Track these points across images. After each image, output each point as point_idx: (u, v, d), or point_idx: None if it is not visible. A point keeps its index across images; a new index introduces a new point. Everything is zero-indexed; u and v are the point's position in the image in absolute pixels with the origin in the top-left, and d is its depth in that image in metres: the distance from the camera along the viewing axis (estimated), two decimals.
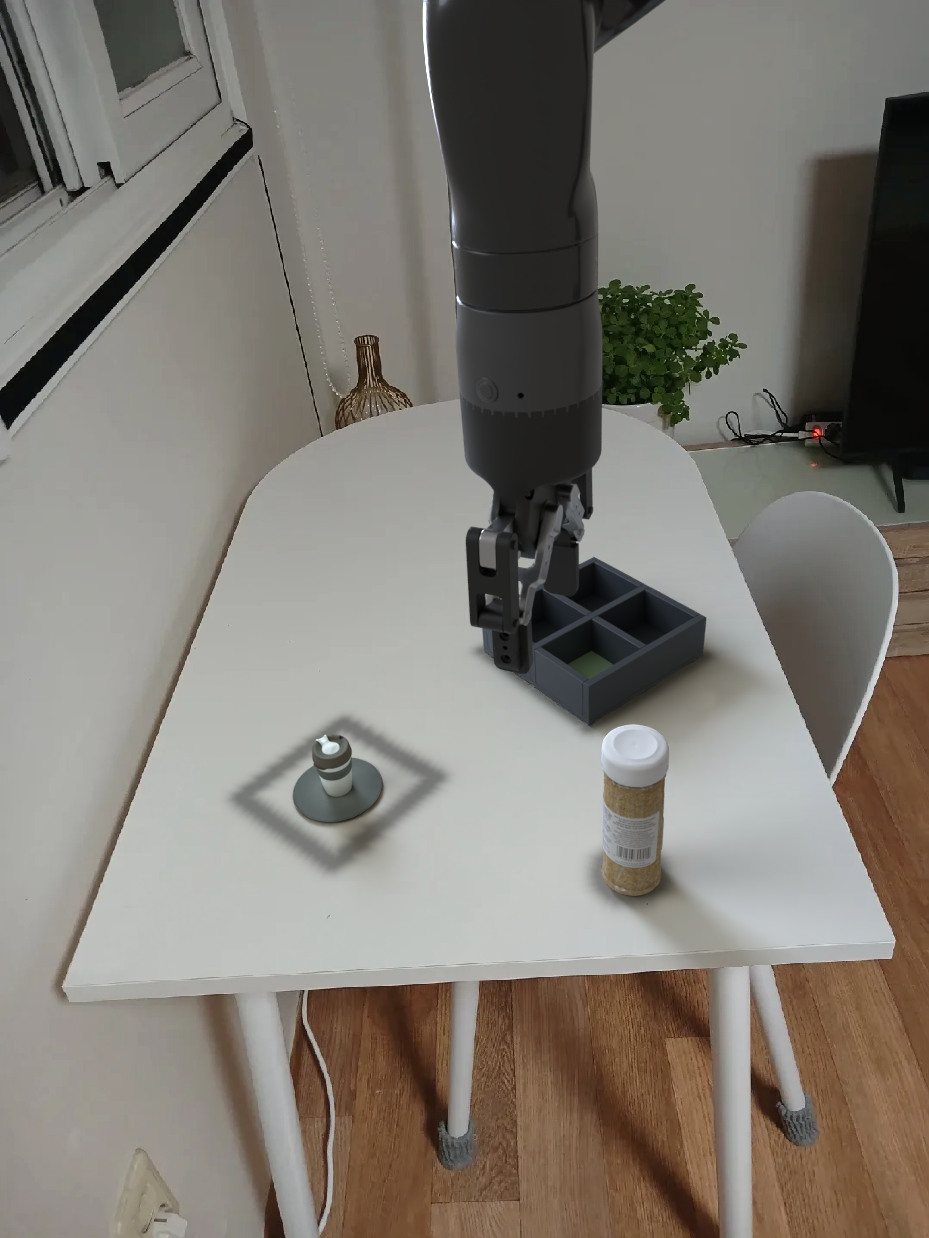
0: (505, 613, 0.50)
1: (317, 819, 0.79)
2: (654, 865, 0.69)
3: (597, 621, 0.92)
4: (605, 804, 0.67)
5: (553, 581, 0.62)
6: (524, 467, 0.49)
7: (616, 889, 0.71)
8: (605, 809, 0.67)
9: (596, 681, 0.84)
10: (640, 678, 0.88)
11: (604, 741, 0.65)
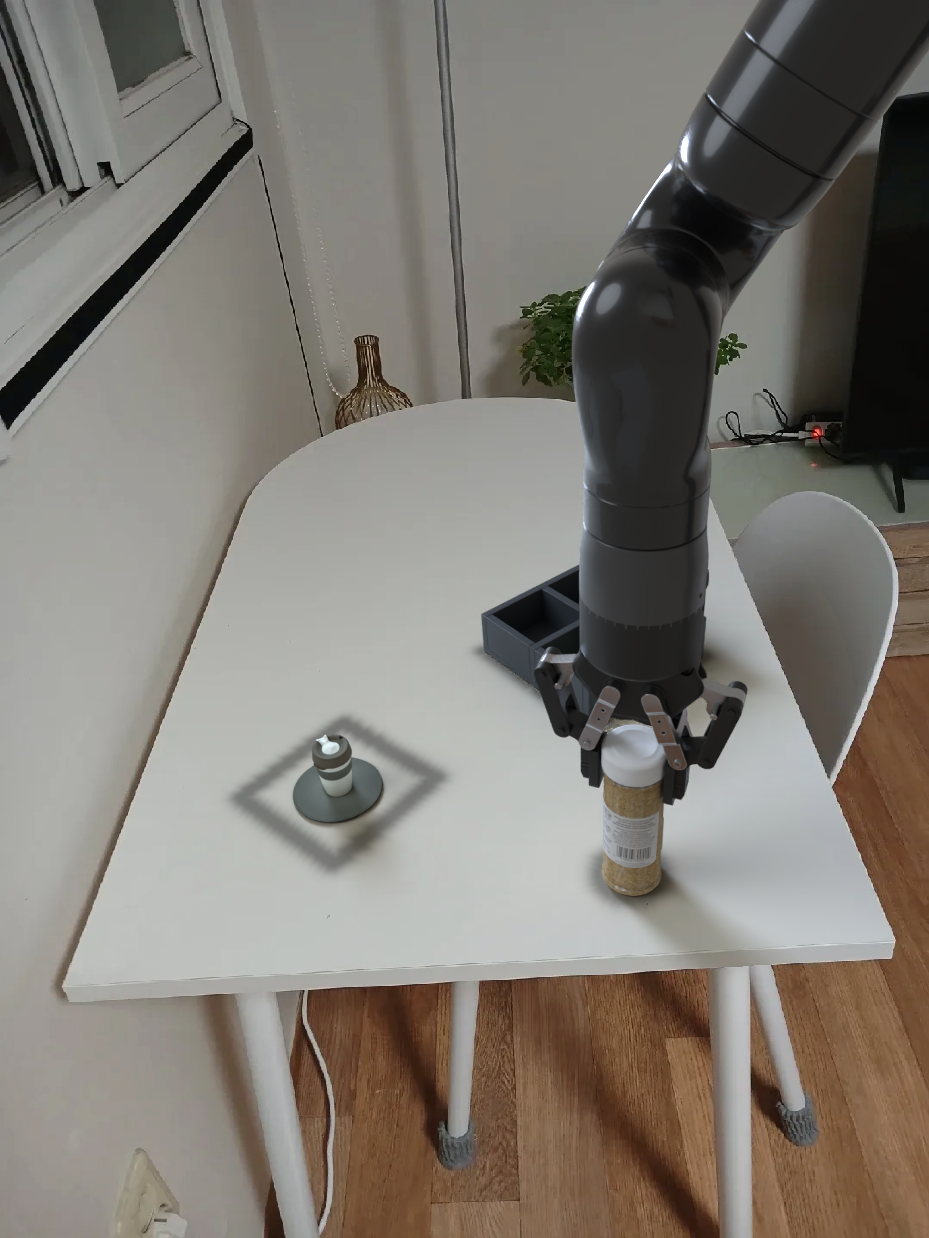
0: None
1: (317, 819, 0.79)
2: (654, 865, 0.69)
3: None
4: (605, 804, 0.67)
5: None
6: None
7: (616, 889, 0.71)
8: (605, 809, 0.67)
9: None
10: None
11: (604, 741, 0.65)
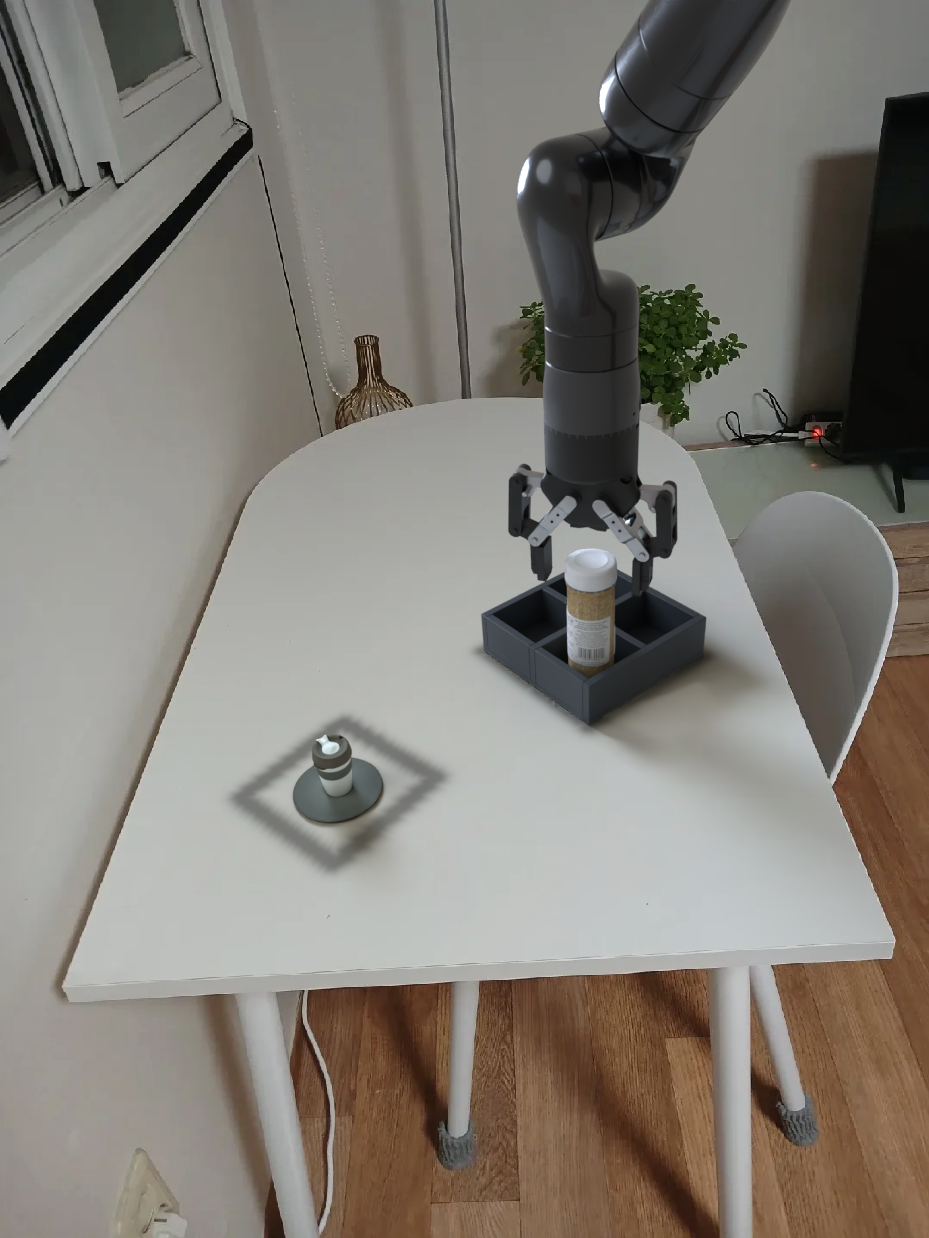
0: None
1: (317, 819, 0.79)
2: (608, 666, 0.87)
3: None
4: (568, 612, 0.85)
5: None
6: None
7: None
8: (568, 617, 0.85)
9: (596, 681, 0.84)
10: (640, 678, 0.88)
11: (566, 559, 0.83)
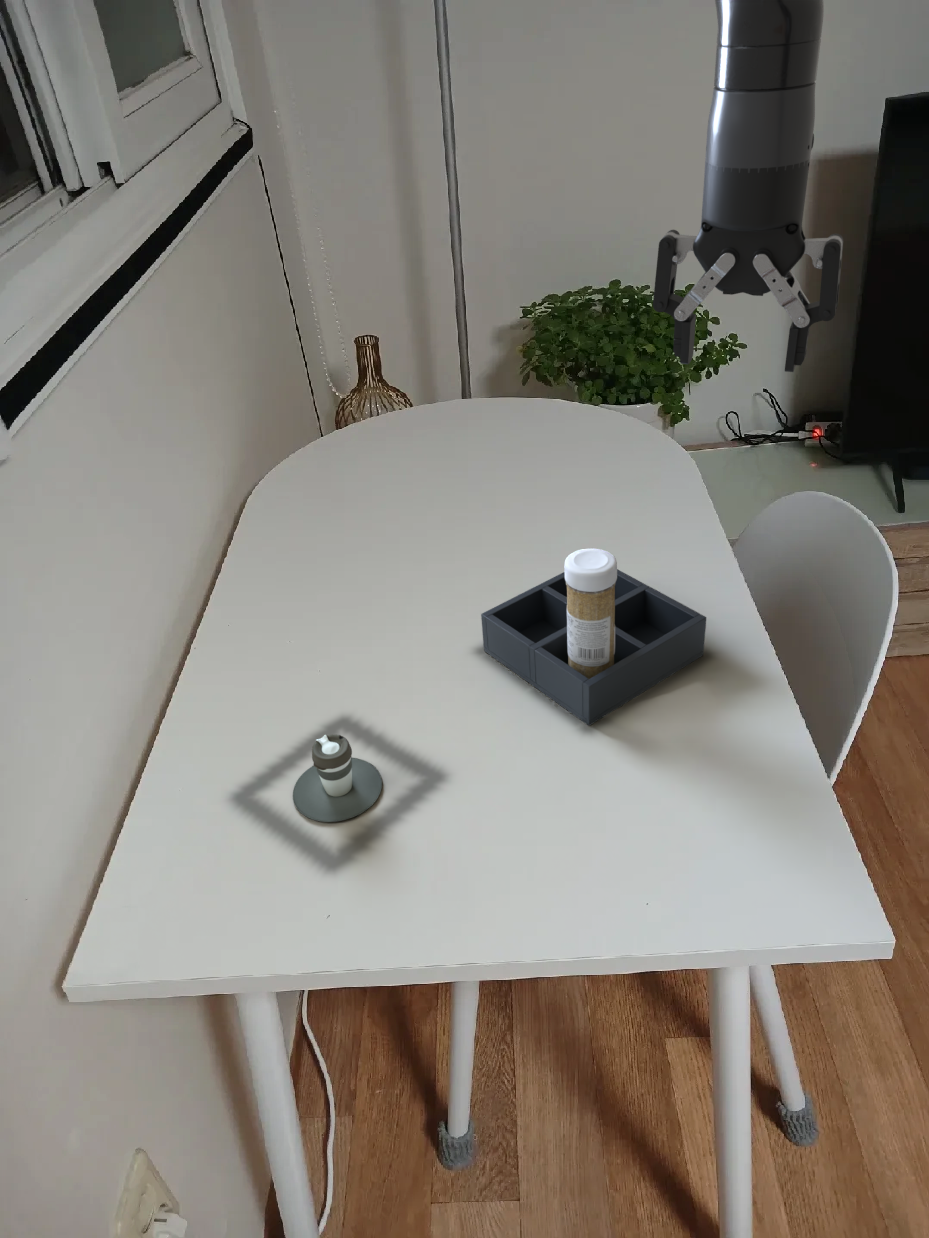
0: None
1: (317, 819, 0.79)
2: (608, 666, 0.87)
3: None
4: (568, 612, 0.85)
5: None
6: (702, 204, 0.73)
7: None
8: (568, 617, 0.85)
9: (596, 681, 0.84)
10: (640, 678, 0.88)
11: (566, 559, 0.83)
